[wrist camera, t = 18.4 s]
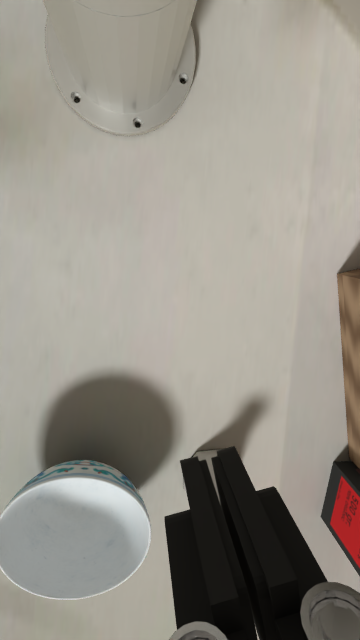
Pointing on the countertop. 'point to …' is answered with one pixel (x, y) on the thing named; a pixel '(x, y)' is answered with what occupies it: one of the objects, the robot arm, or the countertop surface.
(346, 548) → the cleaning product box
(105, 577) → the chinaware
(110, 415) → the countertop surface
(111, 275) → the countertop surface
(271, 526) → the robot arm
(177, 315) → the countertop surface
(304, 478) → the countertop surface
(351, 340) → the wooden compartment tray
